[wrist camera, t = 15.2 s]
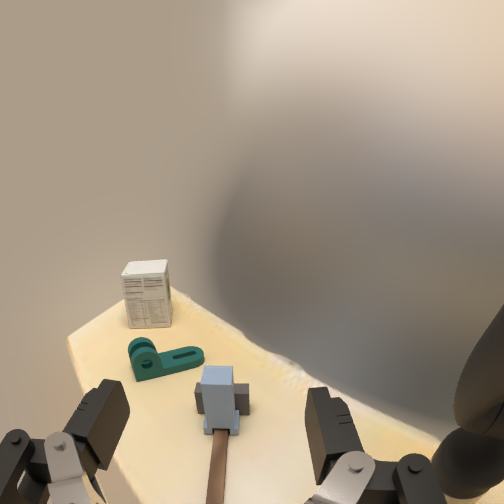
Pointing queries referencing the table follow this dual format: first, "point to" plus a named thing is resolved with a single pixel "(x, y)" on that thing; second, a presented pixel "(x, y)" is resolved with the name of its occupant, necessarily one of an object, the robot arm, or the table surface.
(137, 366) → the bracket
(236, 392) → the stop block
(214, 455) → the rail
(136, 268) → the supplement box
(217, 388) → the block
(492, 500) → the table surface
